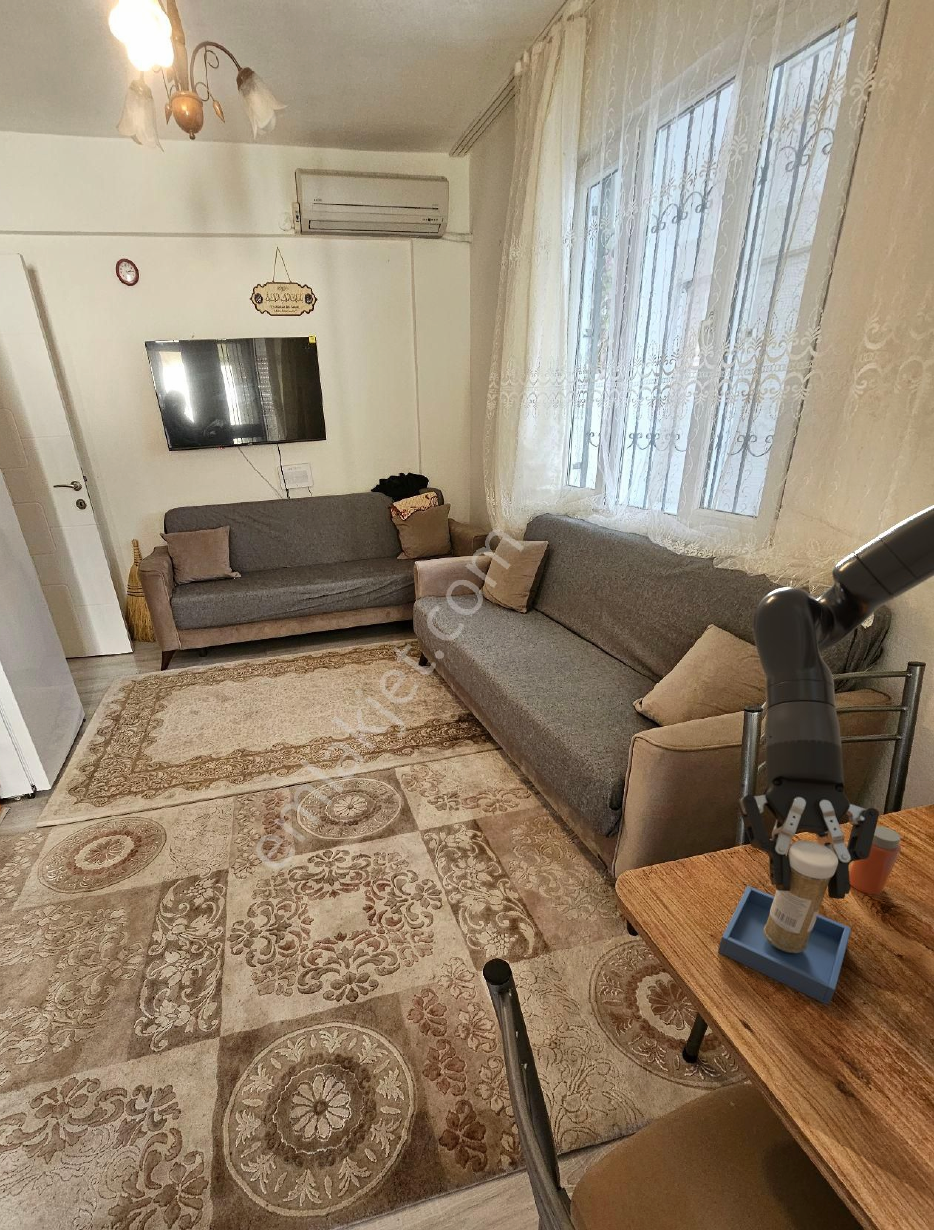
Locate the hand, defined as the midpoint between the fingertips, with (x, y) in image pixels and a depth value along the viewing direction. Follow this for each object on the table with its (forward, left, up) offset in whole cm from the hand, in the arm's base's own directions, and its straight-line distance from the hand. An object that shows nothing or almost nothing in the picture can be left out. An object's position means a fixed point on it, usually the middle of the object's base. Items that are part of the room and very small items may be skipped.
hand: (810, 893), depth 64 cm
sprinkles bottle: (+1, -2, -9) cm, 9 cm away
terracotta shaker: (-5, -21, -10) cm, 24 cm away
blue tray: (+1, -2, -10) cm, 10 cm away
